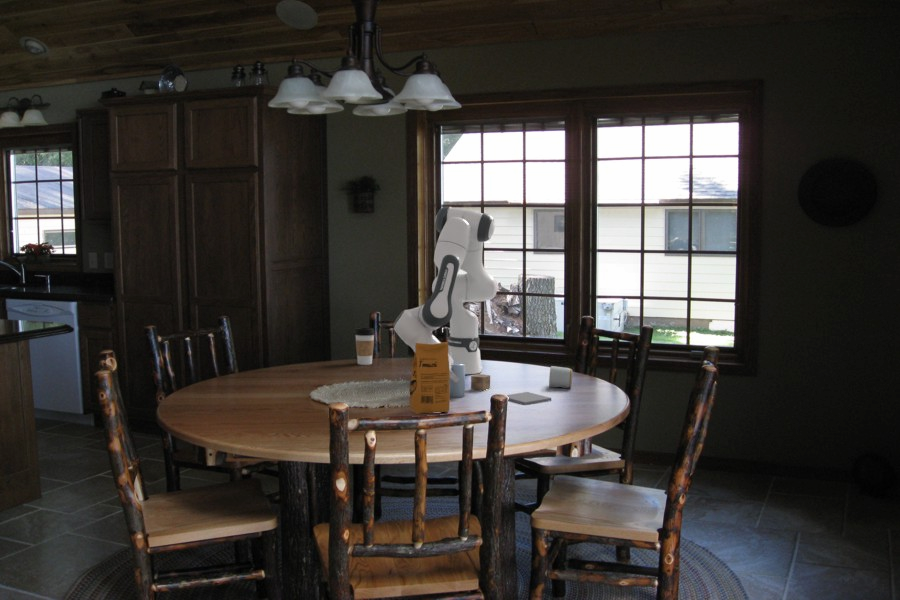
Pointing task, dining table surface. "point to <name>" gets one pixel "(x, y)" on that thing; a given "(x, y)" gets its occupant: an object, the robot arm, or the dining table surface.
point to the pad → (527, 398)
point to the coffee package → (430, 379)
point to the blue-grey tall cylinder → (458, 387)
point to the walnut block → (480, 382)
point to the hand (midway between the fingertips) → (458, 378)
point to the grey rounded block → (560, 377)
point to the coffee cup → (364, 345)
